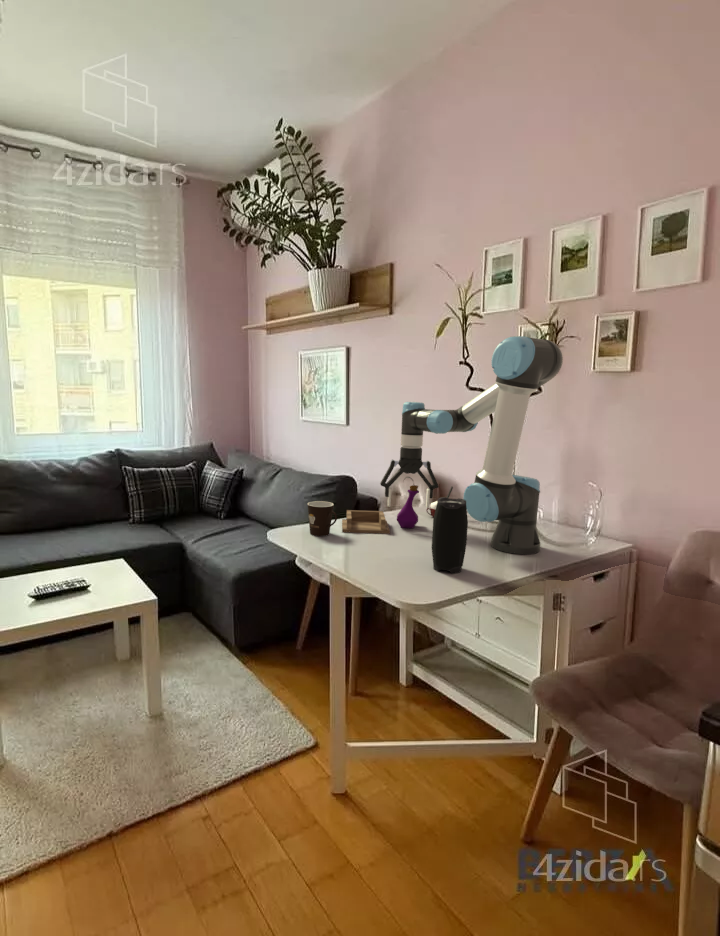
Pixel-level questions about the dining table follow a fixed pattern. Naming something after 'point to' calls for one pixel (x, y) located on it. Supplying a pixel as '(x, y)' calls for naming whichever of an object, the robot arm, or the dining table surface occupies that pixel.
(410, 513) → the perfume bottle
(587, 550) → the dining table surface
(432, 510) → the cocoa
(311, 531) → the coffee mug
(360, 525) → the walnut cradle
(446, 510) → the portable speaker
